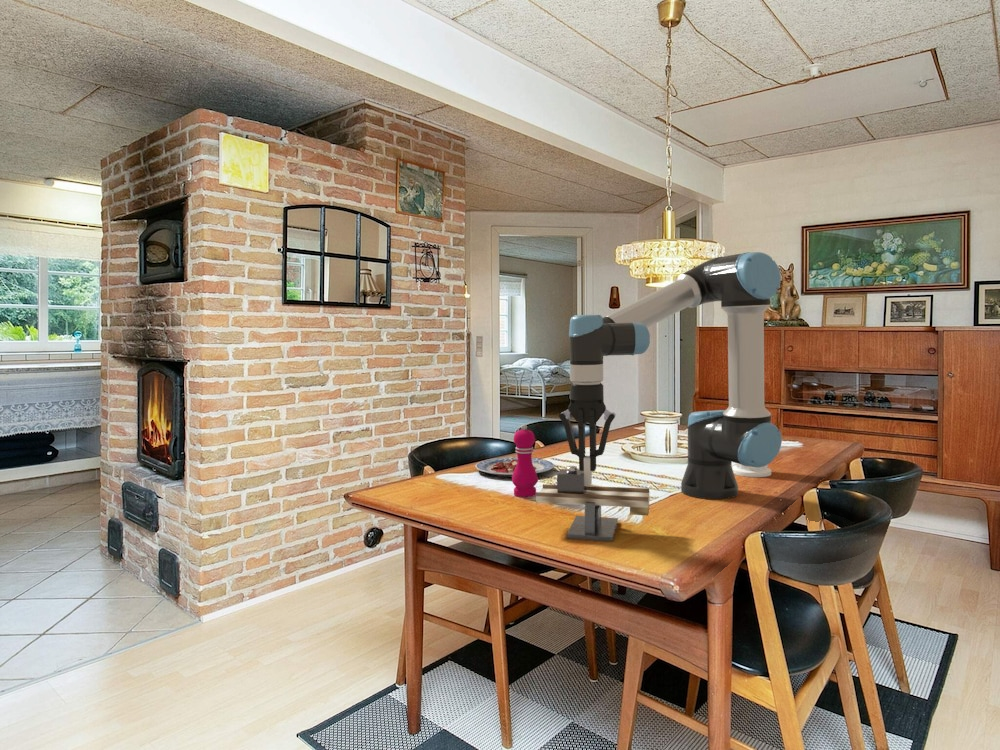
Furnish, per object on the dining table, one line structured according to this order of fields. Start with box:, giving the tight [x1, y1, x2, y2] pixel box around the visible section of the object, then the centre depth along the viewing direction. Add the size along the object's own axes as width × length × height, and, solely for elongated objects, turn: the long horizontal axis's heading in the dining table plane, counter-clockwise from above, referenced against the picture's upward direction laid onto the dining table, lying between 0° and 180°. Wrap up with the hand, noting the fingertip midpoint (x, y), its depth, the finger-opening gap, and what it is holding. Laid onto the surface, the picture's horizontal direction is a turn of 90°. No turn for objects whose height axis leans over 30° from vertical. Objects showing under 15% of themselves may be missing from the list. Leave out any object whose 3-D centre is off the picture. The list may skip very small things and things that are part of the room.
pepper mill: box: [511, 424, 539, 498], centre depth 178 cm, size 7×7×20 cm
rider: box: [556, 465, 586, 494], centre depth 147 cm, size 6×5×6 cm
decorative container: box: [732, 462, 772, 478], centre depth 199 cm, size 12×12×18 cm
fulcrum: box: [566, 502, 619, 543], centre depth 146 cm, size 10×14×8 cm
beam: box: [535, 483, 650, 516], centre depth 146 cm, size 25×8×4 cm, turn 75°
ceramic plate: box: [474, 456, 555, 478], centre depth 208 cm, size 26×26×3 cm
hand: (587, 484), depth 146 cm, fingers closed
